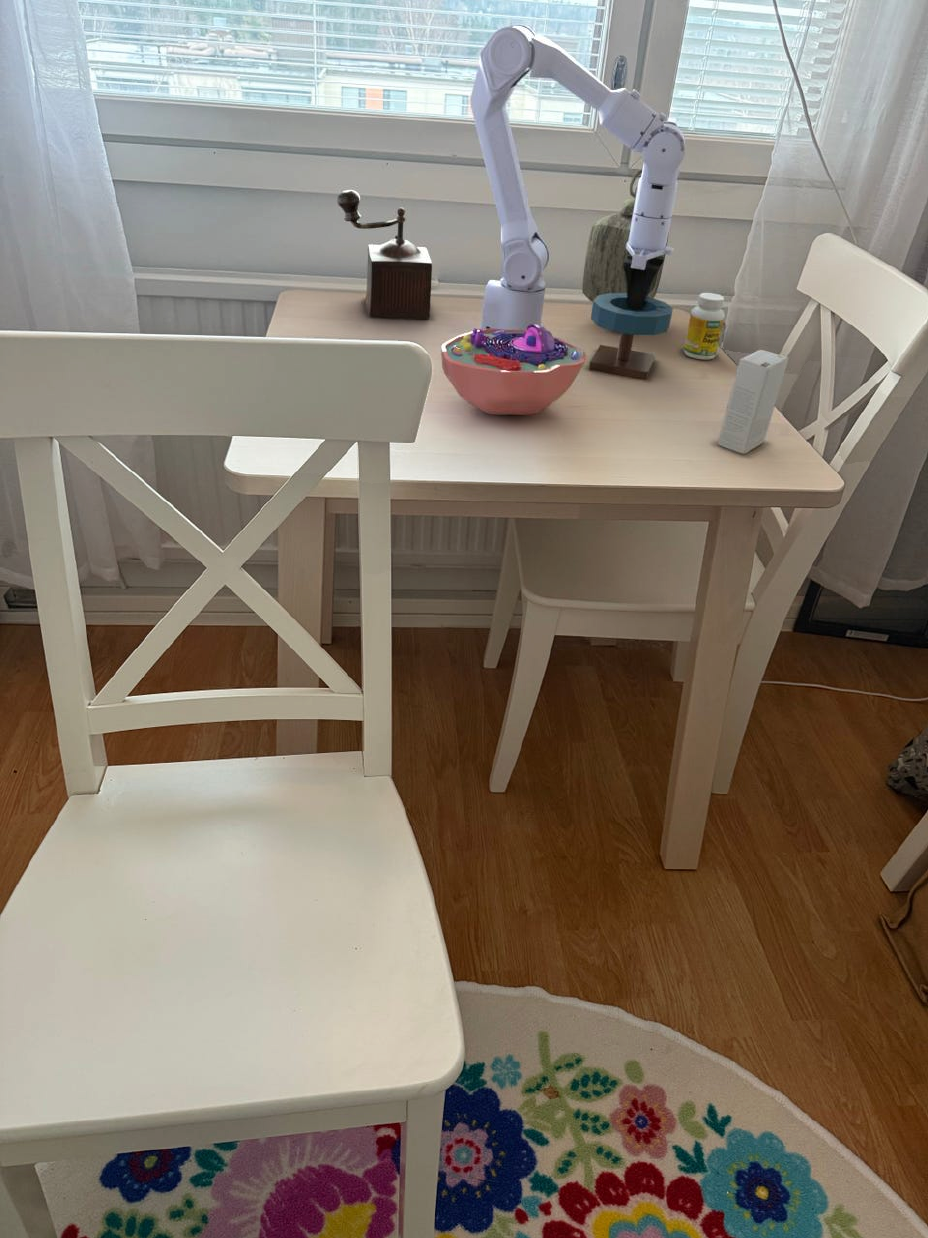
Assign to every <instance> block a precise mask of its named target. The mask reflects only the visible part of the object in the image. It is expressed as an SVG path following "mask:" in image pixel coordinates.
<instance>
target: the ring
mask: <svg viewBox="0 0 928 1238" xmlns="http://www.w3.org/2000/svg"><path fill="white" fill-rule="evenodd" d="M673 310H674V308H673V307H672V306H671V305H669V304H668V303H667V302H666V301H663V300H660V299H658V298H655V297H654V298H651V297H648V296H646V299H645V301H644V304H643V306H642V308H641V310H636V309H630V308H628V306H627V293H608V294H603V295H598V296H597V297H596V298H595V299H594V301H593V302H592V308H591V314H590V320H591V321H592V322H593V323H594V324H595V325H596V326H598V327H601V328H603V329H605V330H609V331H611V332H615V333H620V334H621V333H625V334H631V335H634V336H656V335H661V334H665V333H667V332H668V330H669V328H670V325H671V320H672V315H673Z"/></svg>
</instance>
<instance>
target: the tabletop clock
mask: <svg viewBox="0 0 928 1238" xmlns="http://www.w3.org/2000/svg"><path fill="white" fill-rule="evenodd" d="M642 170H643V168H640V169H638V170H637V171H635V172H634V174H633V176H632V177H631V181H630V186H629V194H630V196H631V198H628V199H626V200H625V201H624V202H623V203H622V204H621V207H620V208H619V211H616V212H614V213H612V214H609V215H606V216H604V217H602V218H600V219H598V220H596V221H595V222H594V223H593V224H592V225H591V229H590V232H589V237H588V241H587V248H586V254H585V259H584V260H585V261H584V267H583V275H582V283H581V284H582V285H581V288H582V292H581V293H582V294H583V295H584V296H585V297H586V298H587V299H588V300H589V301H590V302H591V303H593V301H594V299H595V298H596V297H597V296H598V295H603V294H608V293H627V281H626V275H625V272H624V269H623V260H624V259H628V258H627V256H628V255H629V254H630V253H629V251H628V250H627V249H626V244H627V242H628V240H629V235H630V229H631V223H632V217H633V211H634V205H635V199H636V193H637V188H638V186H637V187H635V189H634V188H633V187H634V184H635V182H636V180H637V178H638V177H639V176H640V175H642ZM634 190H635V191H634ZM669 233H670V232H669ZM669 233H668V238H667V243H666V246H667V247H668V241H669V235H670V234H669ZM661 256H663V257H665V258H666V254H664V255H661ZM664 264H665V261H664V262H663V264H662V265H661V267H660V269H659V271H658V272H657V273H656V275H655V277H654V279H653V282H652V285H651V287H650V290H649V293H648V297H651V298H654V299H655V297H656V295H657V293H658V289H659V285H660V282H661V278H662V275H663V274H662V273H663V268H664Z"/></svg>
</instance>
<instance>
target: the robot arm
mask: <svg viewBox="0 0 928 1238" xmlns="http://www.w3.org/2000/svg"><path fill="white" fill-rule="evenodd" d="M478 61H479V62H478V67H477V70H476V74H475V78H474V83H473V86H472V89H471V93H470V98H469V101H470V102H469V104H470V109H471V112H472V116H473V121H474V124H475V129H476V132H477V135H478V136H477V137H478V141H479V144H480V149H481V153H482V156H483V161H484V164H485V168H486V169H485V170H486V173H487V177H488V181H489V185H490V189H491V193H492V196H493V200H494V204H495V209H496V213H497V217H498V221H499V224H500V245H501V249H502V260H501V265H500V266H501V275H502V277H501V278H500V280H497V279H490V280H488V282H487V284H486V287H485V290H484V295H483V299H482V308H481V309H482V311H481V321H480V330H483V329H505V330H526V329H527V327H528V325H530V324H538V325H541V326H542V318H543V312H544V311H543V310H544V303H545V295H546V286H547V283H546V281H545V280H544V278H543V274H542V273H543V272H544V270H545V269H546V268H547V266H548V264H549V260H550V250H549V246H548V244H547V243H546V242H545V241H544V239H543V238H542V236H541V235H540V233H539V229H538V225H537V223H536V221H535V220H534V217H533V216H532V211H531V208H530V203H529V198H528V195H527V190H526V186H525V182H524V177H523V174H522V171H521V165H520V161H519V157H518V151H517V149H516V144H515V140H514V135H513V131H512V126H511V122H510V118H509V113H508V110H507V104H508V102H509V100H510V98H511V97H512V95H513V93H514V91H515V89H516V88H517V87H518V86H517V85H518V84H519V82H521V80H522V79H524V77H526V76H527V74H528V73H529V78H534V79H535V78H536V79H551V80H554V81H555V82H557V83H558V84H560V86H562V87H563V88H564V89H566V90H568V91H569V92H570V93H572V94H573V95H575V96H576V97H577V98H579V99H580V100H581V101H583V102H584V103H586V104H587V105H589V106H590V107H592V108H593V109H594V110H596V111H597V112H598V119H599V125H600V127H601V128H602V129H604V130H605V131H607V132H608V134H610V135H612V136H613V137H614V138H615V139H616V140H618V141H620V143H622V144H623V145H625V146H626V147H627V148H629V149H630V150H631V151H632V152H634V153H641V155H642V159H643V164H642V169H643V170H642V174H641V176H640V177H639V178H638V183H637V187H638V188H637V187H636V188H637V193H636V199H635V205H634V211H633V217H632V223H631V229H630V235H629V240H628V242H627V244H626V249H627V250H628V251H629V253H630V254H629V255H628V256H627V258H628V259H624V260H623V269H624V272H625V275H626V281H627V306H628V308H630V309H636V310H641V308H642V306H643V304H644V301H645V299H646V296H648V293H649V290H650V287H651V285H652V282H653V279H654V277H655V275H656V273H657V272H658V271H659V269H660V267H661V265H662V264H663V262H664V263H665V260H666V256H665V257H663V256H661V255H664V254H665V255H667V256H668V255H672V254H673V253H674V247H671V246H668V245H667V246H666V243H667V244H668V242H667V238H668V239H669V236H668V233H670V227H671V221H672V218H673V217H672V216H673V211H674V206H675V201H676V196H677V190H678V185H679V184H678V181H677V180H678V179H679V176H680V172H681V170H680V165H681V164H682V162H683V160H684V158H685V155H686V152H685V149H686V139H685V136H684V133H683V131H682V130H681V128H679V127H678V124H676V122H674V121H669V120H667V119H668V116H667V115H666V114H665V113H664V112H661V113H660V114H659V113H658V112H657V111H655V110H654V109H653V108H651V106H649V105H648V104H646V103H645V102H643V100H641V99H640V98H641V96H642V94H641V93H640V92H639V91H638V90H636V89H632V91H630V90H628V89H627V88H625V87H622V88H618V89H614V90H612V89H611V88H609V86H607V84H604V83H603V82H602V81H601V80H600V79H598V78H597V77H596V76H595V75H594V74H593V73H592V72H590V71H589V70H588V69H587V68H586V67H584V66H583V65H582V64H581V63H580V62H578V61H577V60H576V59H575V58H574V57H573V56H571V55H570V54H569V53H568V52H566V50H564V49H563V48H562V47H561V46H559V45H557V44H556V43H554V42H553V41H551V40H550V39H548V38H547V37H545V36H544V35H541V34H536V33H535V31H534V30H533V29H532V28H530V27H529V26H528V25H525V24H512V25H510V26H504V27H501V28H499V29H497V30H496V31H495V32H493V33H492V35H491V36H490V38H489V39H488V41H487V42H486V44H485V45H484V47H483V49H482V50H481V52H480V53H479V60H478ZM666 120H667V121H666Z"/></svg>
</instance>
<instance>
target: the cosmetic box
mask: <svg viewBox="0 0 928 1238" xmlns="http://www.w3.org/2000/svg"><path fill="white" fill-rule="evenodd" d="M788 362H789V358H788V357H787V356H784V355H781V354H777V353H774V352H771V351H767V350H763V349H758V350H756V351H755V352H753V353H751V354H748V355H746V356H744V357H742V358H740V359H739V362H738V366H737V370H736V373H735V378H734V380H733V384H732V388H731V392H730V396H729V399H728V403H727V406H726V411H725V413H724V417H723V421H722V424H721V429H720V433H719V435H718V439H717V445H718V446H721V447H723V448H725V449H727V450H730V451H733V452H735V453H736V452H737V453H739V454H743V455H746V454H747V453H749V452H750V451H751V450H753V449H755V448H757V447H758V446H759V445H761V444H763V443H764V442H765V441H766V437H767V433H768V431H769V427H770V423H771V420H772V416H773V413H774V410H775V406H776V403H777V399H778V396H779V392H780V389H781V385H782V382H783V379H784V375H785V373H786V369H787V365H788Z"/></svg>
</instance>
